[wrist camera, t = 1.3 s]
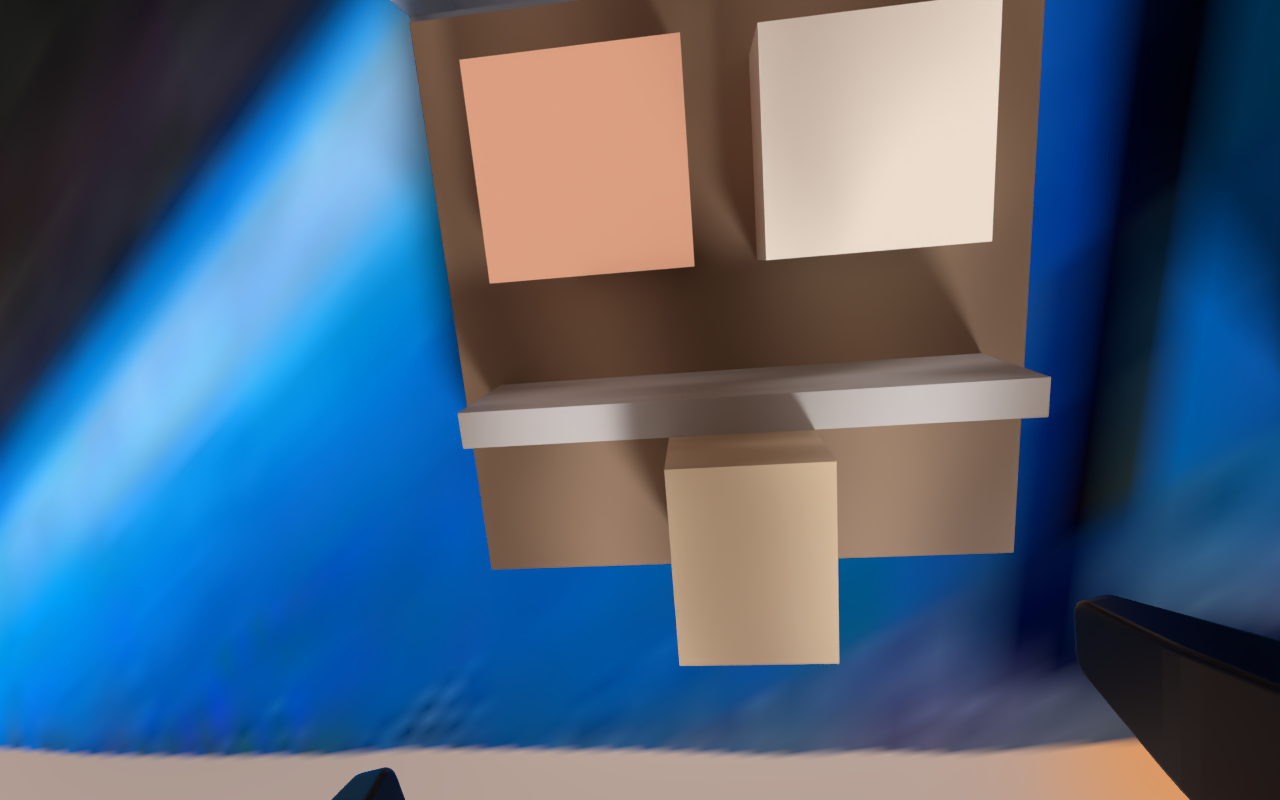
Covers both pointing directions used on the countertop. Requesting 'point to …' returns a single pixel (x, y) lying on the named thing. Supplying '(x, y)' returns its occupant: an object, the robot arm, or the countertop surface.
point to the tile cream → (875, 128)
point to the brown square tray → (731, 303)
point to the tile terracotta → (581, 158)
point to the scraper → (755, 476)
